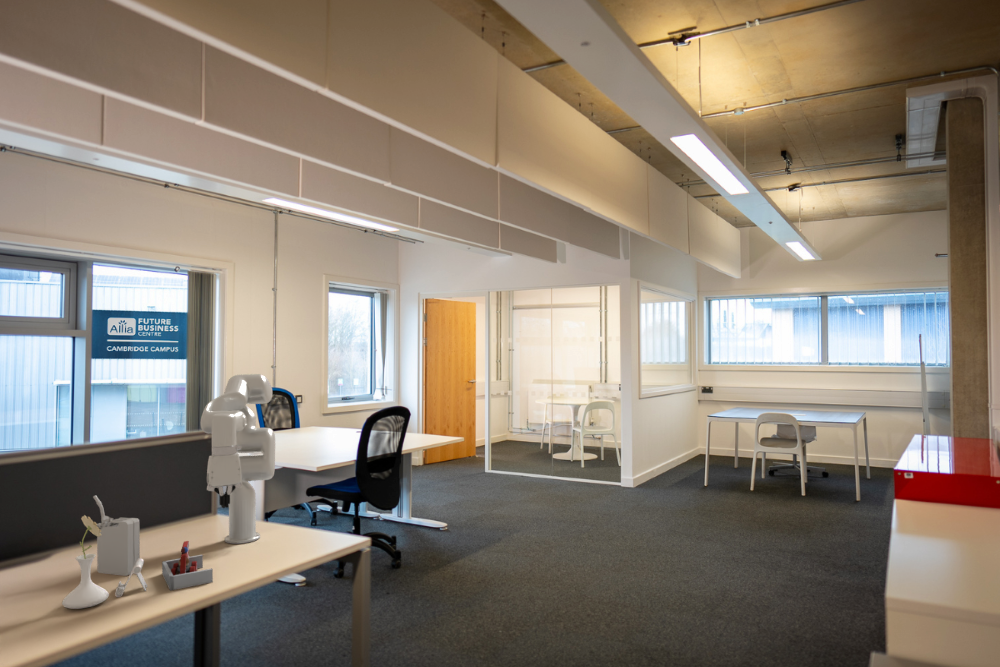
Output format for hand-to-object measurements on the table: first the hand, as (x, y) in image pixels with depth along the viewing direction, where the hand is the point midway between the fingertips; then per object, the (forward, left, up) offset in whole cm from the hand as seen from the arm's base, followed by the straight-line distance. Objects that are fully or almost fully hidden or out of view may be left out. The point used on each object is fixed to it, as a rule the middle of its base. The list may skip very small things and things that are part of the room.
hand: (224, 506), depth 218 cm
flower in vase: (+6, -39, -21) cm, 45 cm away
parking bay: (0, -11, -21) cm, 24 cm away
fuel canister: (-21, -30, -21) cm, 42 cm away
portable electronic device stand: (+2, -27, -21) cm, 34 cm away
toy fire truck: (-1, -12, -21) cm, 25 cm away
